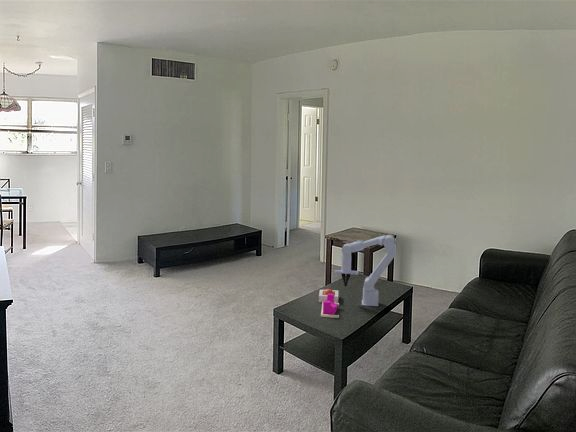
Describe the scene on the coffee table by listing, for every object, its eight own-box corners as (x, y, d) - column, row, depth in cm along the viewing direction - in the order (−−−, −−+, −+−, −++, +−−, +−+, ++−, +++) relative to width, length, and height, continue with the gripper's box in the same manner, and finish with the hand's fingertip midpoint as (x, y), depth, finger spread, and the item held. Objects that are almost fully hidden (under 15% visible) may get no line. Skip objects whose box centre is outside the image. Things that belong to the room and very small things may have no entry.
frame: (339, 305, 279) (339, 303, 279) (338, 317, 259) (339, 315, 259) (322, 304, 280) (322, 302, 280) (320, 316, 260) (320, 314, 260)
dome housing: (338, 296, 293) (338, 290, 293) (338, 303, 282) (338, 296, 281) (319, 295, 295) (319, 289, 294) (318, 302, 283) (318, 295, 283)
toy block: (333, 315, 263) (334, 303, 261) (323, 314, 264) (323, 302, 263) (338, 306, 277) (338, 294, 276) (327, 305, 278) (328, 293, 277)
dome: (334, 296, 291) (334, 287, 290) (334, 300, 284) (334, 291, 283) (323, 295, 292) (323, 287, 291) (322, 299, 285) (323, 290, 284)
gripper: (358, 262, 284) (357, 284, 287) (334, 261, 286) (333, 283, 288) (358, 265, 278) (357, 287, 280) (334, 264, 279) (333, 286, 281)
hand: (345, 285), depth 284 cm, fingers closed
